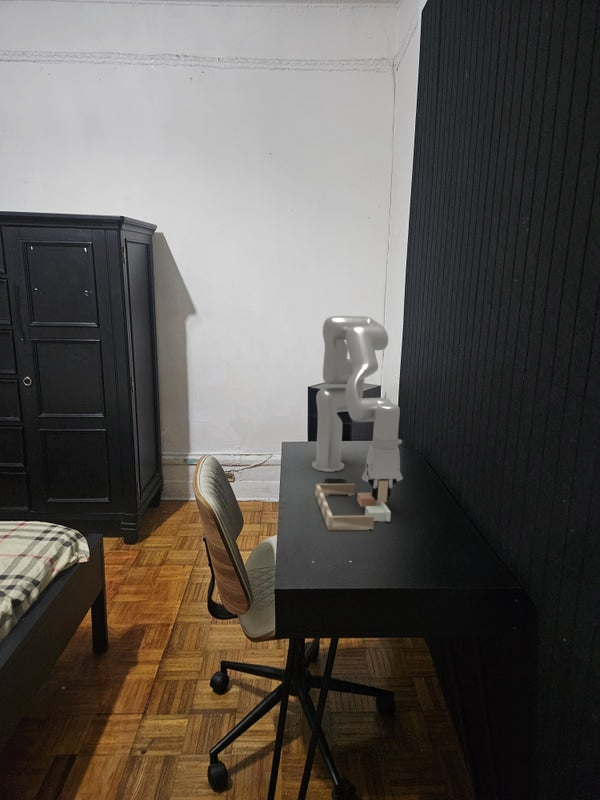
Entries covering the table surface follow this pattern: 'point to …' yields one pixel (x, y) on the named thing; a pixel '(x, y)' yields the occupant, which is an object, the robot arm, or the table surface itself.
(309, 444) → the table surface
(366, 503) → the terracotta tile
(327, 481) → the phone
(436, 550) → the table surface
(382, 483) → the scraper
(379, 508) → the pale green square block
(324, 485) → the box
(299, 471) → the table surface
